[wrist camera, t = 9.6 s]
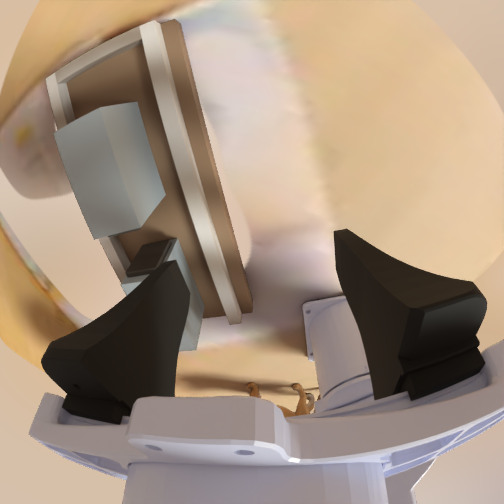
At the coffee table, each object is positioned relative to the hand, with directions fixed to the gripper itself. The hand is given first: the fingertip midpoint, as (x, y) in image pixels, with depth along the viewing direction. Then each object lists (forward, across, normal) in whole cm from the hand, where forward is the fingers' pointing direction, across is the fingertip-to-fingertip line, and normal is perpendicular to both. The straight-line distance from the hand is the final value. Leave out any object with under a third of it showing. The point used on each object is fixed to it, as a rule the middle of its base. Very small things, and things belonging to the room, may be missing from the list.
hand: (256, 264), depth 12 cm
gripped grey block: (+8, +8, -5) cm, 12 cm away
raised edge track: (+9, +8, -2) cm, 12 cm away
